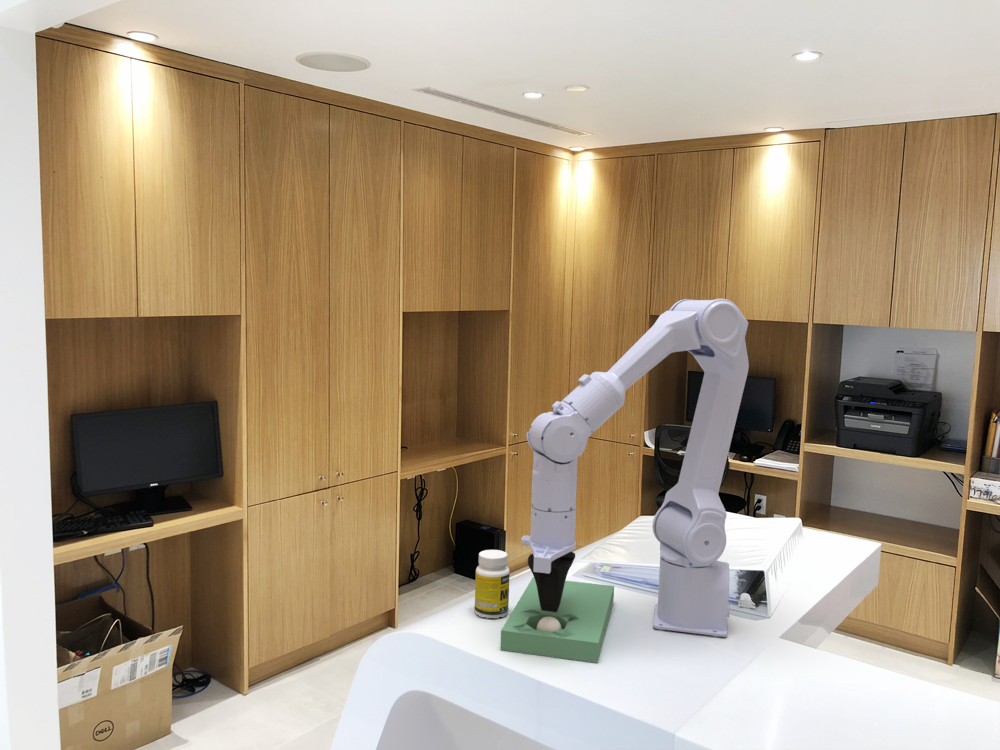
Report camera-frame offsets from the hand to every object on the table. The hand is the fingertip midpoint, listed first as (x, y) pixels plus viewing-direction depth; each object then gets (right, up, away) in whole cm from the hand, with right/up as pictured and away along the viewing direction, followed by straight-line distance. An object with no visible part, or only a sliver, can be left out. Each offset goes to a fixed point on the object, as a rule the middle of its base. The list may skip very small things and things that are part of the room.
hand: (550, 609), depth 99 cm
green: (+2, -3, +4) cm, 5 cm away
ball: (0, -2, -2) cm, 3 cm away
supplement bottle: (-8, -3, +7) cm, 11 cm away
